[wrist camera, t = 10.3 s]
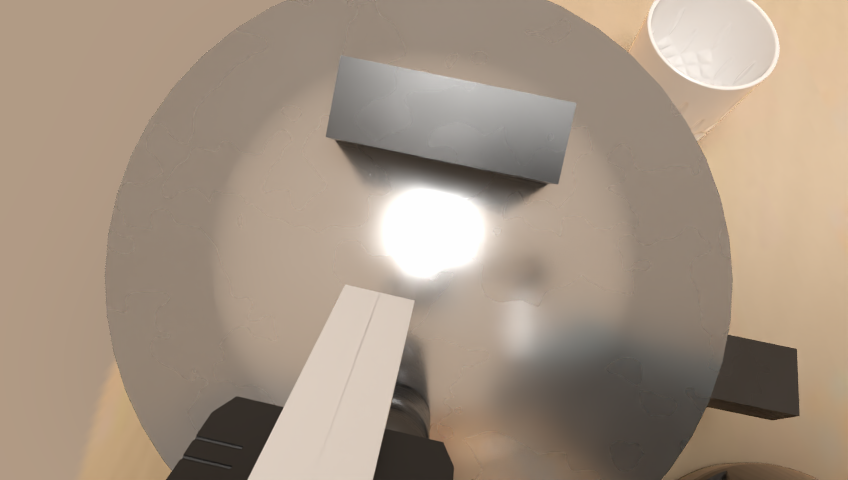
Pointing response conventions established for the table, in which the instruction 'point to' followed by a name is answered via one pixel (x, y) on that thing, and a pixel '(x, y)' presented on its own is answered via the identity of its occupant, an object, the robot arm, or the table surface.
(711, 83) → the white cup
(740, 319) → the table surface
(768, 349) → the cooker pot
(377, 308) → the robot arm
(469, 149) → the cooker lid
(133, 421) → the table surface
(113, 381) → the table surface
